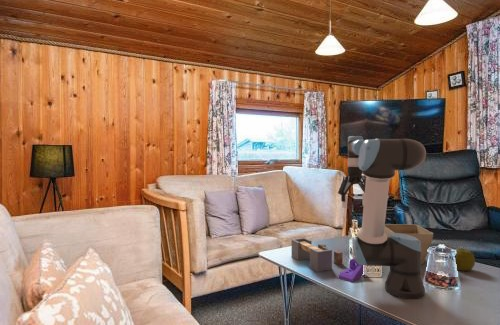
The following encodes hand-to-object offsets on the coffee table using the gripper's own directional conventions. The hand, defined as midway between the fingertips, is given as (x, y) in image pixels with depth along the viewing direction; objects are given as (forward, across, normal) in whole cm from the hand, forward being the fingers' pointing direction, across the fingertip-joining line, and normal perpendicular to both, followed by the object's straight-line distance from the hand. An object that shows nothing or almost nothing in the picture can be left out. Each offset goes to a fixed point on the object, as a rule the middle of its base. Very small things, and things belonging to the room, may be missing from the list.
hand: (354, 206), depth 178 cm
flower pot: (+29, -24, +12) cm, 39 cm away
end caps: (+28, +22, -7) cm, 37 cm away
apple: (+29, -38, +33) cm, 58 cm away
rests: (+28, +10, -7) cm, 31 cm away
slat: (+22, +22, -7) cm, 32 cm away
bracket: (+29, +16, +16) cm, 37 cm away
